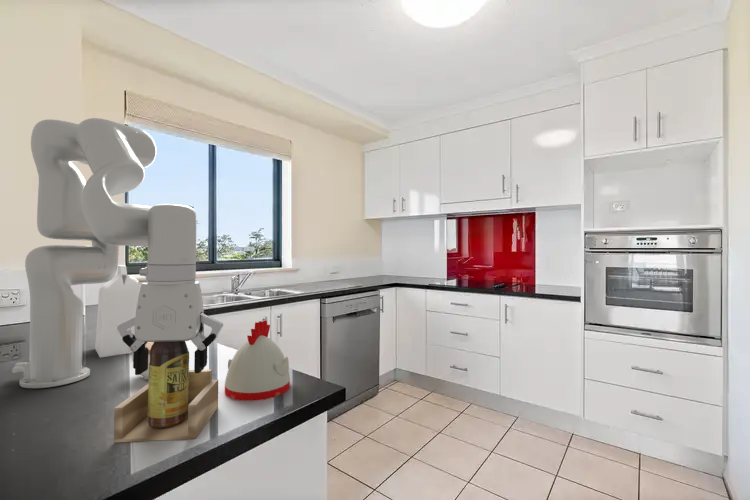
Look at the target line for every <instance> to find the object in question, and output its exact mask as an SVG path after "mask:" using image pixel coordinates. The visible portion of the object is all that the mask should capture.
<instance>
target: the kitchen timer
mask: <svg viewBox="0 0 750 500" xmlns="http://www.w3.org/2000/svg"><path fill="white" fill-rule="evenodd" d="M270 328H271V324H268V320H263V321H258V322H255V323H254V328H250V333H251V335H247V340H246V341H244V342H243V343H242V345H240V347H239V348H238V349H237V350H236V352H235V354H234V355H233V357H232V359H231V358H229V359H228V362H227V373H226V376H225V380H224V394H225V397H228V398H229V399H233V400H235V401H236V400H237V401H244V402H245V401H246V402H247V401H251V402H252V401H263V400H267V399H272V398H275V397H278V396H280V395H283V394H285V393H286V392H287V391H288V390H289V389H290V383H291V381H290V380H291V377H290V366H289V365H290V364H289V363H290V362H289V358H288V356H285V355H284V353H283V352H282V349H281V348H280V347H279V345H277V344H276V342H274V340H272V339H271V338H269V333H270Z"/></svg>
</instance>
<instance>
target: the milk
mask: <svg viewBox="0 0 750 500" xmlns="http://www.w3.org/2000/svg"><path fill="white" fill-rule="evenodd" d="M139 282H140V281H139V279H137V278H136V277H135V276H133V275H130V276H129V275H128V270H127V265H124V264H118V267H117V272H116V275H115V276H114V278H113V279H112V280H110V281H108V282H105V283H103V284H102V286H101V287H100V288H99V290H98V301H97V317H96V332H95V344H94V345H95V347H94V350H95V352H97V355H98V357H99V358H105V357H106V358H107V357H112V356H119V355H126V354H131V353H132V354H133V352H132V351H131V350H130V347H129V346H128V345H127V344H126V343H124V342H123V340H122V336H121V335H120V333H119V331H118V330H117V326H118V325H120V324H122V323H124V322H126V321H128V320H130V319H132V318H134V317H136V308H137V302H138V297H139V292H140V288H141V284H139ZM131 333H132V334H134V335H135V326H133V327H131Z"/></svg>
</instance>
